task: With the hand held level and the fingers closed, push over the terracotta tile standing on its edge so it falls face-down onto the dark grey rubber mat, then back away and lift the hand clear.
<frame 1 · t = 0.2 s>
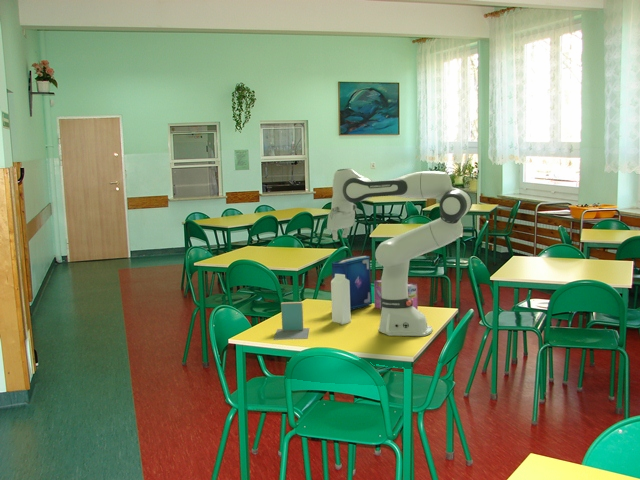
hand: (339, 238, 278), 39 cm above the table, tool pointing down, fingers open, 8 cm apart
milk: (341, 322, 291), on the table
mat: (292, 335, 272), on the table
book: (352, 308, 319), on the table
tile: (292, 330, 278), point 1 cm above the table, touching mat
gum box: (395, 310, 312), on the table
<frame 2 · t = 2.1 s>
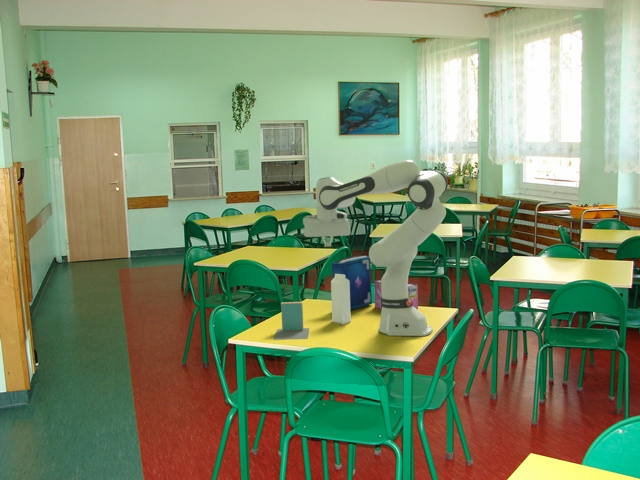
hand: (327, 246, 282), 35 cm above the table, tool pointing down, fingers closed
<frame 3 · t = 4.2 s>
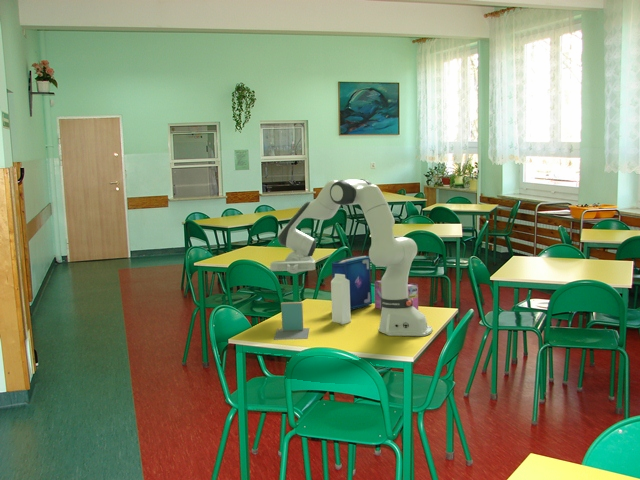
hand: (292, 268, 284), 26 cm above the table, tool horizontal, fingers closed
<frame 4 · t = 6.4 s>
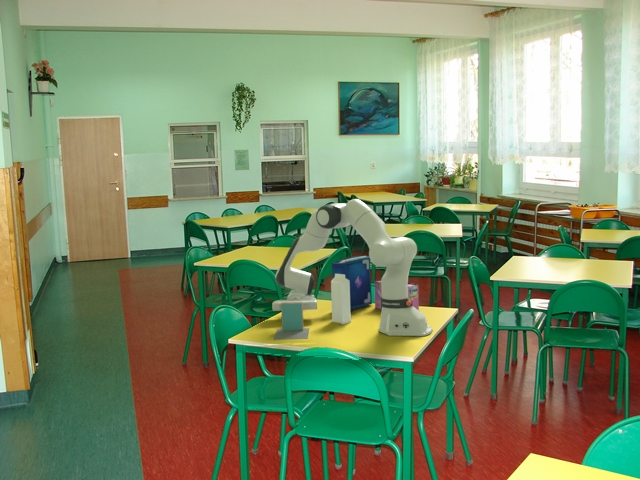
hand: (293, 308, 286), 8 cm above the table, tool horizontal, fingers closed
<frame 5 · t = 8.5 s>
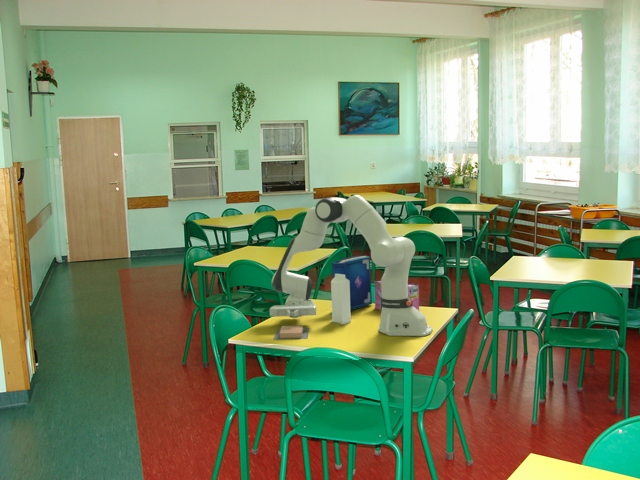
hand: (292, 314, 275), 8 cm above the table, tool horizontal, fingers closed
tile: (292, 328, 276), point 2 cm above the table, tilted 90°, touching mat
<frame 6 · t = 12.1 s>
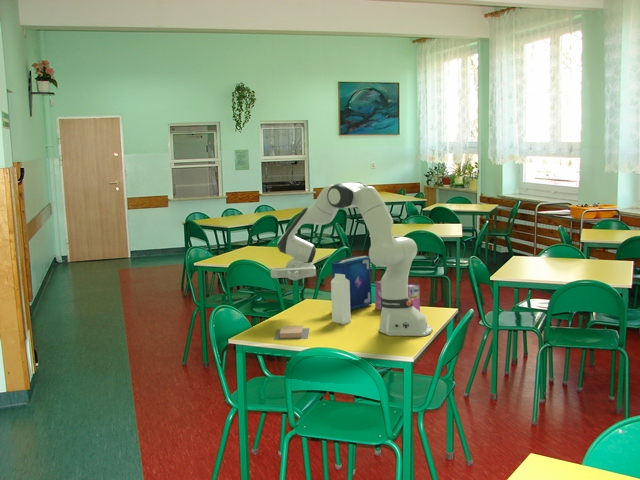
hand: (292, 274, 284), 23 cm above the table, tool horizontal, fingers closed
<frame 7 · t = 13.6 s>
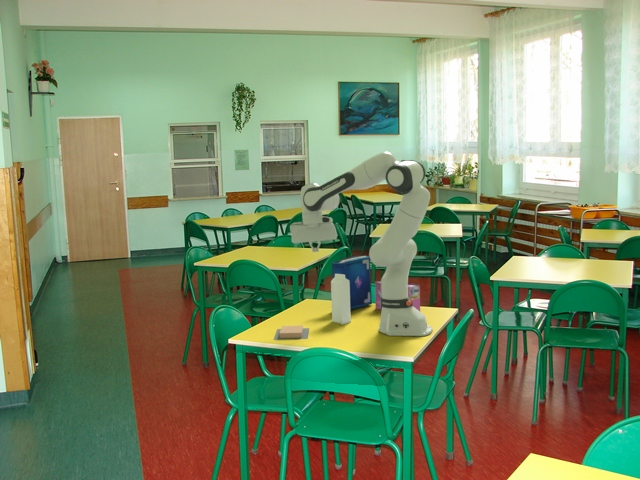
hand: (315, 251, 286), 33 cm above the table, tool pointing down, fingers closed
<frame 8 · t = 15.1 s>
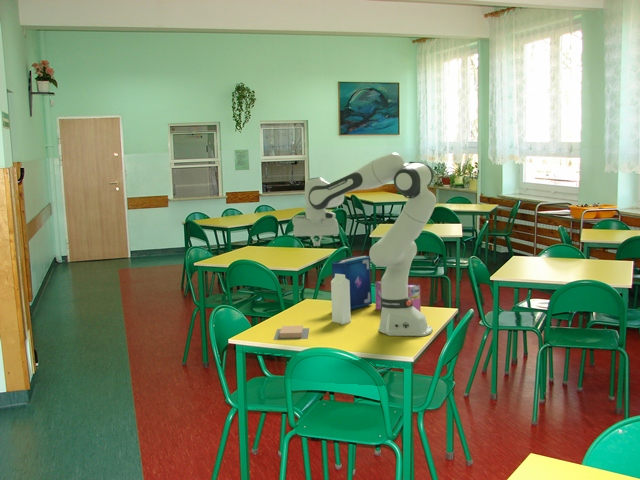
hand: (316, 245, 287), 35 cm above the table, tool pointing down, fingers closed
at the end: tile tilted 90°; tile touching mat; tile inside the target area on the mat (1.1 cm from its centre), point 1.8 cm above the mat's base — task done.
